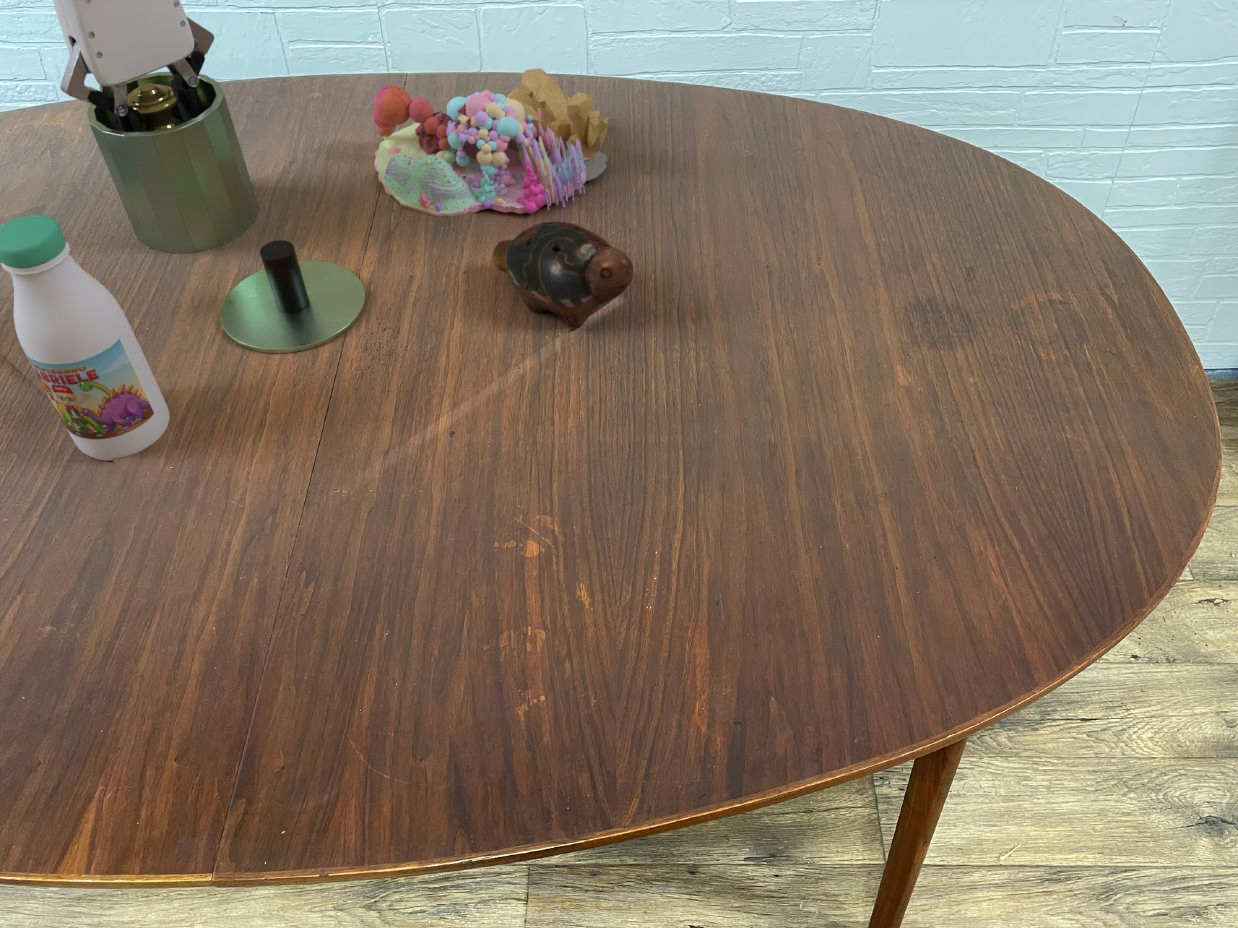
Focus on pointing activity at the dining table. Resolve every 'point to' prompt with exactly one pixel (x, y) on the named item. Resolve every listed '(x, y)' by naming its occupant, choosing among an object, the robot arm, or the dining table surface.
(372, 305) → the dining table surface
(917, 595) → the dining table surface
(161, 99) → the gold knobbed round piece
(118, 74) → the robot arm
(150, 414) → the milk bottle
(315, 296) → the tin lid
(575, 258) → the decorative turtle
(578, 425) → the dining table surface
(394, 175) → the candy landscape model
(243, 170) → the tin
